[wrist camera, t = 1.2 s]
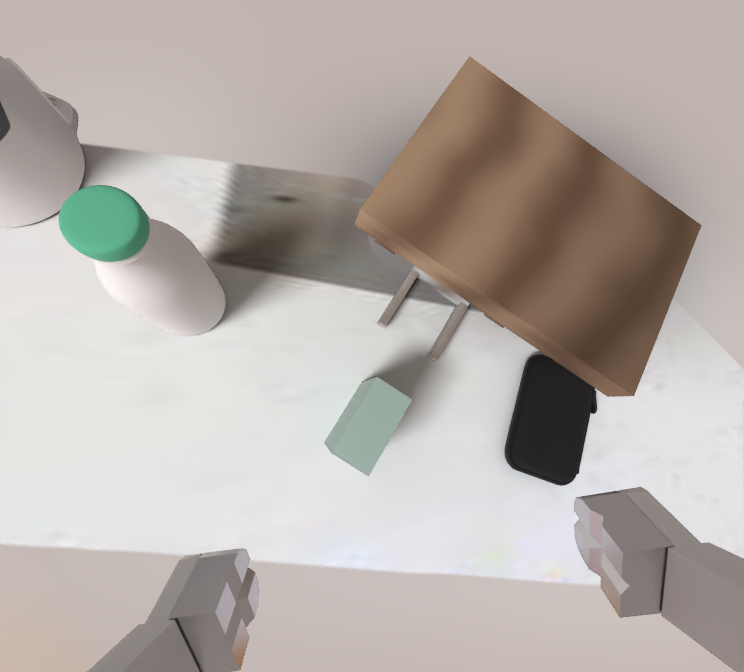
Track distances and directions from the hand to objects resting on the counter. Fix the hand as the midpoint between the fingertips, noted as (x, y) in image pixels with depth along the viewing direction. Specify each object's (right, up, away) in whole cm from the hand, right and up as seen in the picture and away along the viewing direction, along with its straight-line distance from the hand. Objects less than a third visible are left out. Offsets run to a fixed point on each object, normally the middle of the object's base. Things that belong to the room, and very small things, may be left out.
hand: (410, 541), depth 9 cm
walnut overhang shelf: (+6, +8, +38) cm, 39 cm away
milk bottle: (-21, +9, +33) cm, 40 cm away
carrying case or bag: (+21, -6, +39) cm, 45 cm away
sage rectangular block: (-3, -5, +34) cm, 34 cm away
